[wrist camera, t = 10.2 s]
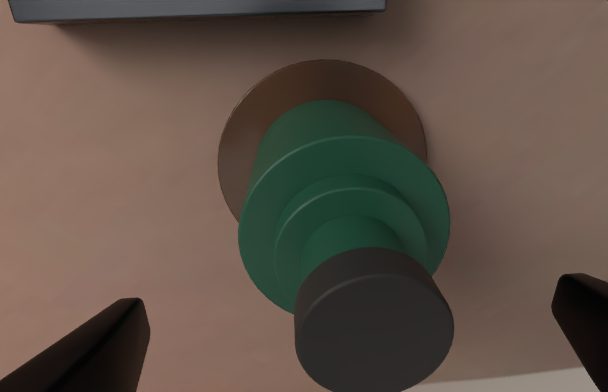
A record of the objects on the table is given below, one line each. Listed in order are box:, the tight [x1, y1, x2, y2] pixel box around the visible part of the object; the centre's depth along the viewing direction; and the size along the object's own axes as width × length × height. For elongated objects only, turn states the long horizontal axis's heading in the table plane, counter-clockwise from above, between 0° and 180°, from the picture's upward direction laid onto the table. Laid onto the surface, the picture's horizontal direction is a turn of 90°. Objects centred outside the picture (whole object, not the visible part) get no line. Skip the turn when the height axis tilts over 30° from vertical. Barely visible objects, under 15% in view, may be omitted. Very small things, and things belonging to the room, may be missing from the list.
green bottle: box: [238, 100, 454, 392], centre depth 11 cm, size 6×6×10 cm
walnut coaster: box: [218, 59, 427, 222], centre depth 16 cm, size 9×9×1 cm
